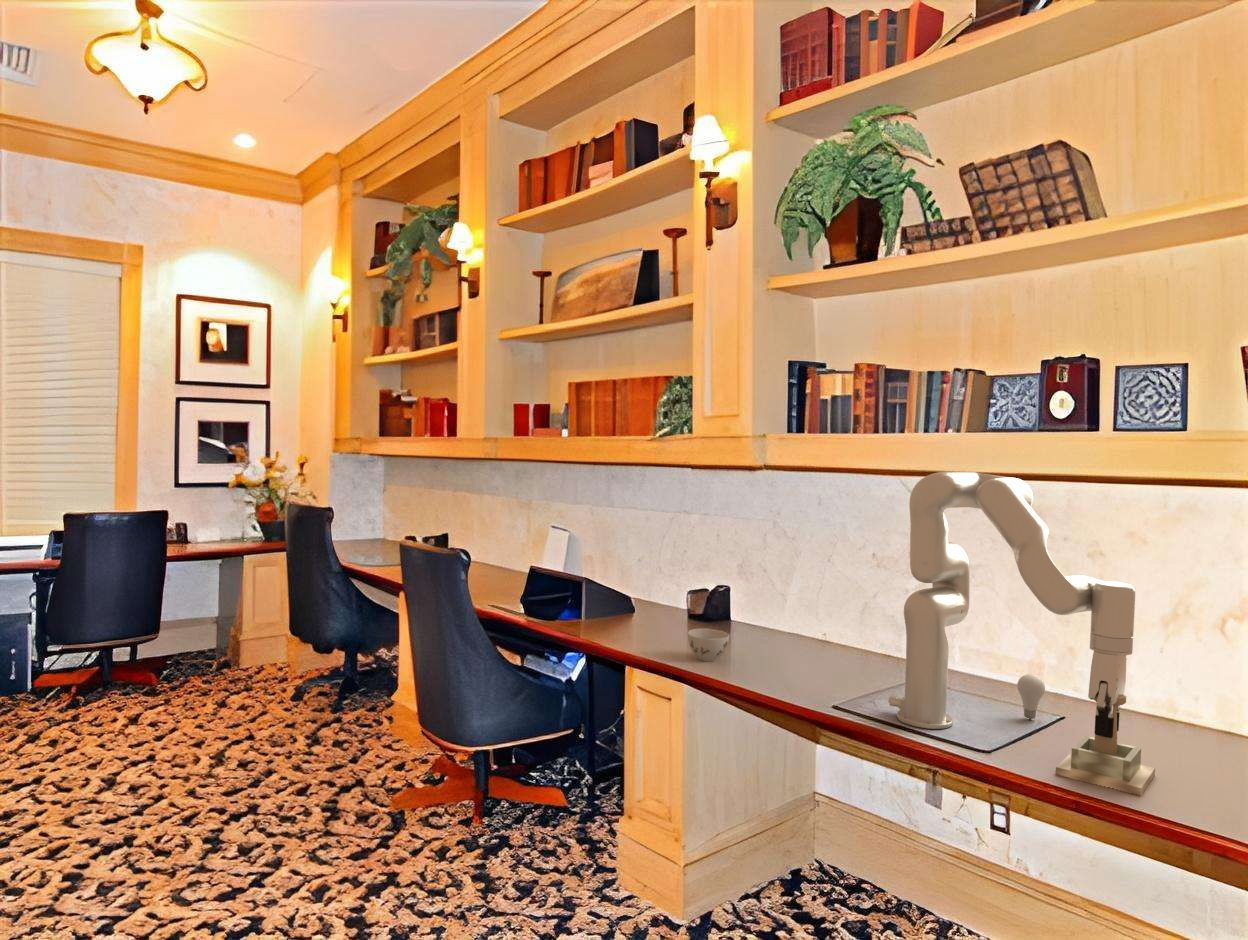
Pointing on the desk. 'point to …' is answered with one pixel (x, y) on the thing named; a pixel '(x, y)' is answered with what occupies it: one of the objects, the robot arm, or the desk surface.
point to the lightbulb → (1030, 693)
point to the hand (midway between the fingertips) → (1106, 732)
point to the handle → (1110, 744)
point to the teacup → (708, 643)
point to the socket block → (1107, 767)
